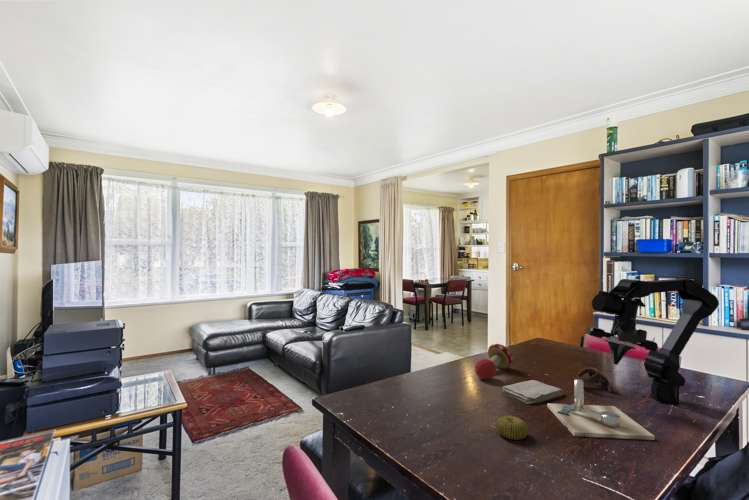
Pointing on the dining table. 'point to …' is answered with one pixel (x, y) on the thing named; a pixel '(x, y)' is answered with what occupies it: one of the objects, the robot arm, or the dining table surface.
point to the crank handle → (606, 417)
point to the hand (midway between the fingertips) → (615, 364)
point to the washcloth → (531, 391)
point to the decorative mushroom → (500, 356)
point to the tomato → (485, 369)
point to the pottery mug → (594, 378)
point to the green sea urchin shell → (512, 427)
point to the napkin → (598, 423)
